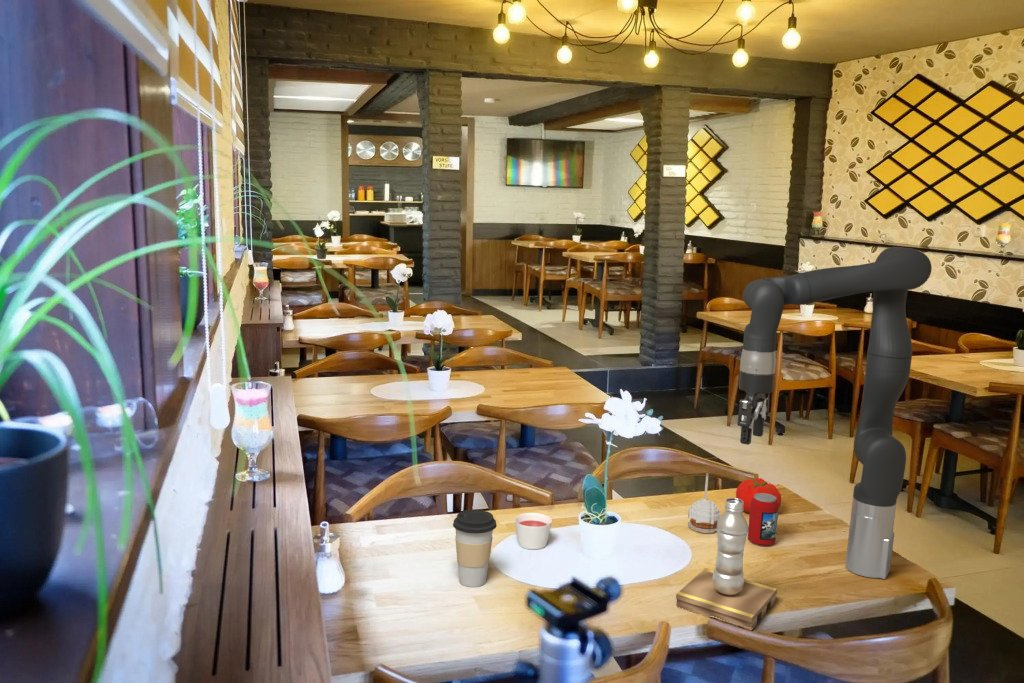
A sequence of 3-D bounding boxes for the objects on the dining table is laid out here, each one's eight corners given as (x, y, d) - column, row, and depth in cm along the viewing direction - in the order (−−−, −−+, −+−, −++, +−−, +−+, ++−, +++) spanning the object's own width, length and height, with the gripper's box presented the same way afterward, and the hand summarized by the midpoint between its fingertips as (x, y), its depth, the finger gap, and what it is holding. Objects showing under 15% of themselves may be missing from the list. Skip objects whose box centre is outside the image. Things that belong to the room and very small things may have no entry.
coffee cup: (446, 574, 183) (447, 510, 180) (486, 569, 186) (488, 506, 184) (458, 593, 174) (460, 526, 172) (500, 588, 177) (503, 521, 175)
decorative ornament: (716, 524, 218) (721, 470, 216) (719, 536, 211) (724, 479, 208) (686, 522, 219) (690, 467, 217) (688, 533, 212) (693, 477, 209)
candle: (557, 548, 199) (558, 523, 198) (523, 554, 195) (524, 529, 194) (540, 535, 207) (541, 511, 206) (507, 540, 203) (508, 515, 202)
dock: (775, 602, 176) (777, 588, 175) (750, 632, 163) (751, 617, 162) (704, 580, 185) (705, 567, 184) (675, 607, 172) (676, 593, 171)
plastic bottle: (746, 589, 174) (754, 499, 171) (738, 602, 168) (746, 509, 165) (716, 581, 177) (723, 493, 174) (707, 594, 172) (714, 502, 168)
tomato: (774, 523, 220) (777, 493, 219) (728, 513, 227) (730, 483, 225) (785, 509, 231) (788, 480, 230) (741, 500, 237) (743, 471, 236)
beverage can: (769, 550, 203) (773, 503, 201) (743, 542, 207) (747, 497, 205) (779, 542, 208) (783, 496, 206) (753, 534, 212) (757, 490, 210)
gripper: (764, 377, 176) (758, 450, 179) (783, 367, 188) (777, 436, 191) (729, 372, 180) (724, 443, 183) (751, 363, 192) (745, 430, 195)
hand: (751, 439), depth 187 cm, fingers open, 8 cm apart
